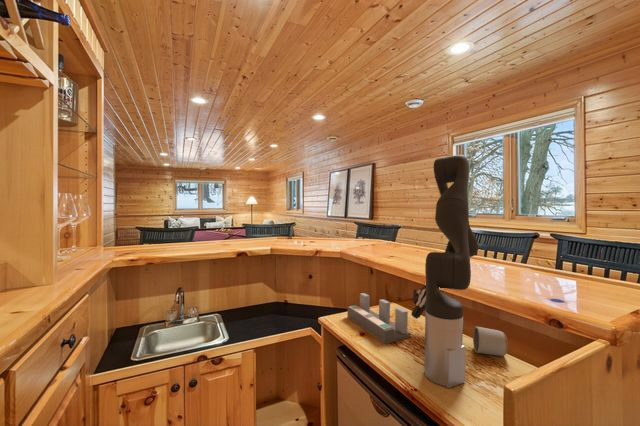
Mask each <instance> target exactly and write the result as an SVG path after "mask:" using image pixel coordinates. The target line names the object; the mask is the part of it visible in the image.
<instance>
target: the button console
mask: <svg viewBox="0 0 640 426" xmlns="http://www.w3.org/2000/svg"><path fill="white" fill-rule="evenodd" d="M347 318H348V319H349V320H351V321H352V322H353V323H355V324H357V325H358V326H359V327H361V328H362V329H364V330H365V331H366V332H368V333H369V334H371V335H372V336H373V337H375V338H376V339H377V340H379V341H381V342H382V343H383V344H388V343H392V342H396V341H400V340H404V339H409V338H411V336H412V335H411V333H410V332H409V331H407V333H404V334H402V333H401V332H399V331H397V330H396V329H395V323H394V322H391V321H390V322H389V323H384V322H383V321H381V320H379V313H376V312H375V311H373V310H371V309H370V313H368V312H366V311H365V310H363V309H361V308H360V306H359V305H356V304H355V305H350V306H347Z"/></svg>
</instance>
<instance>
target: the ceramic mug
mask: <svg viewBox="0 0 640 426" xmlns="http://www.w3.org/2000/svg"><path fill="white" fill-rule="evenodd" d="M472 334H473V336H472V340H473V342H472V343H473V348H474V349H473V350H474V352H476V353H477V354H484V355H491V356H498V357H499V356H502V357H503V356H505V355H507V353H508V349H509V347H508V346H509V344H508V338H507V335H506V333H504V332H503V331H501V330H499V329H498V330H497V329H493V328H487V327H482V326H475V327H474V328H473V333H472Z"/></svg>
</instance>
